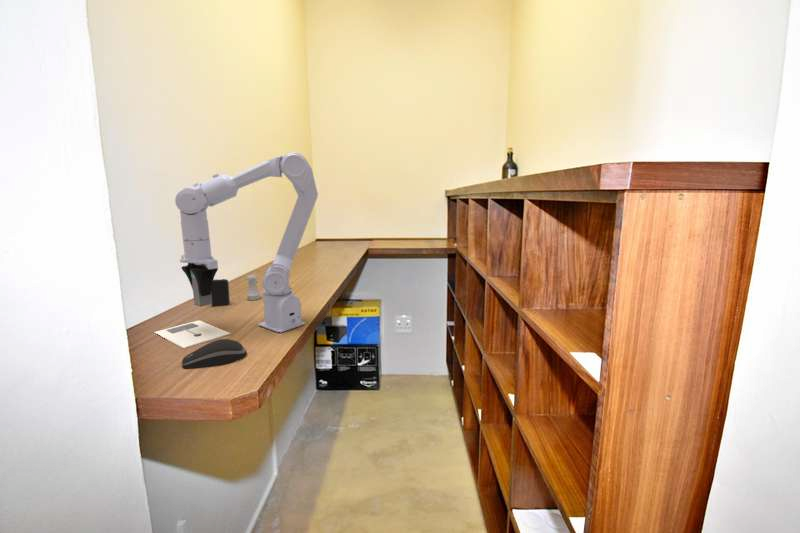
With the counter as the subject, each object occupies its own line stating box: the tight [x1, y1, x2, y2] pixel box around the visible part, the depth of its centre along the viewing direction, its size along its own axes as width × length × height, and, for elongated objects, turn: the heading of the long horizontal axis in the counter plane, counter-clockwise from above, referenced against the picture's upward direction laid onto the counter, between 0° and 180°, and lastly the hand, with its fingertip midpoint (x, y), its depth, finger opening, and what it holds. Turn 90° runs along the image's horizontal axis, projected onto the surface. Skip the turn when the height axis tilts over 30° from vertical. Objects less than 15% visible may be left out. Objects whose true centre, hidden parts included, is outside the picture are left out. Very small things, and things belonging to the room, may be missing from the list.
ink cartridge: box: [210, 278, 231, 307], centre depth 117 cm, size 5×2×8 cm, turn 106°
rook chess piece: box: [246, 273, 262, 301], centre depth 124 cm, size 4×4×8 cm
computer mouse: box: [181, 338, 248, 370], centre depth 79 cm, size 7×12×4 cm, turn 117°
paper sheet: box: [153, 319, 231, 350], centre depth 94 cm, size 16×11×1 cm
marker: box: [190, 269, 212, 308], centre depth 94 cm, size 3×3×9 cm
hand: (202, 294), depth 94 cm, fingers closed on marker, 3 cm apart
